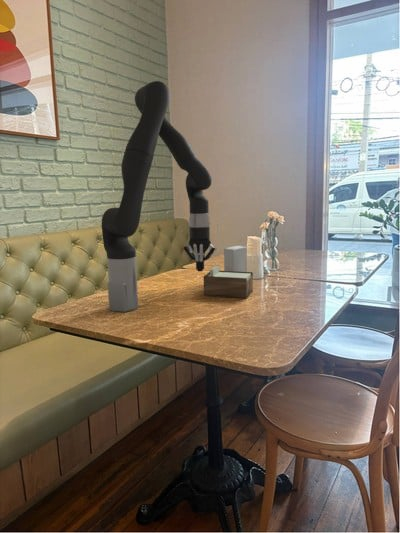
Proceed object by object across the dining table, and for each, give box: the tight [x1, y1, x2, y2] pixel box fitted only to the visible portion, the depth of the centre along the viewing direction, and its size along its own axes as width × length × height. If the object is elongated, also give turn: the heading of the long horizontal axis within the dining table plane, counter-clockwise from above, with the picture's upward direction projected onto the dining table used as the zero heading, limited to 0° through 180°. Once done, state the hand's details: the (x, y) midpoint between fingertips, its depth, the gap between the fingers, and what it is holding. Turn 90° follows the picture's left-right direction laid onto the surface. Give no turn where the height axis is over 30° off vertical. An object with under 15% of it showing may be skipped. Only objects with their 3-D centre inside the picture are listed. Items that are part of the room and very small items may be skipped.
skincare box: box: [223, 245, 248, 272], centre depth 165 cm, size 8×6×15 cm
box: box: [203, 270, 254, 299], centre depth 147 cm, size 11×16×7 cm
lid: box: [208, 265, 251, 280], centre depth 146 cm, size 10×15×4 cm, turn 71°
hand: (200, 270), depth 150 cm, fingers closed
